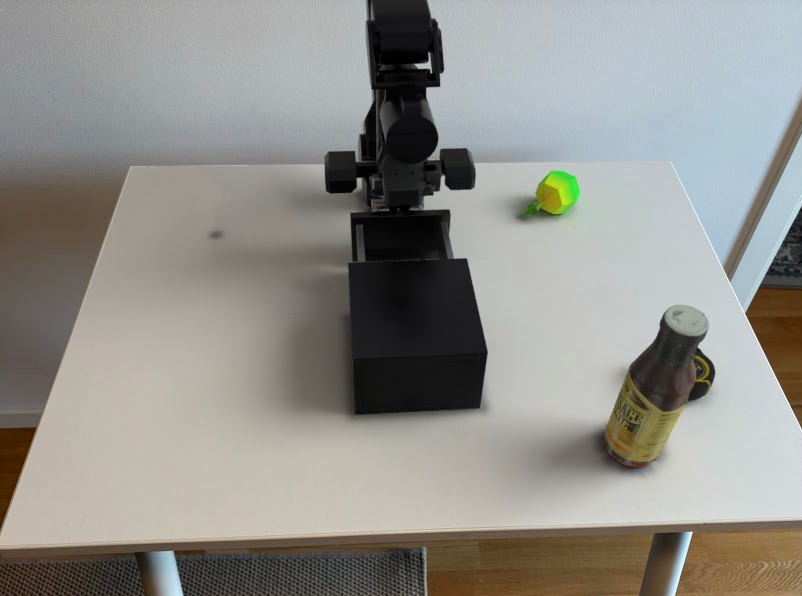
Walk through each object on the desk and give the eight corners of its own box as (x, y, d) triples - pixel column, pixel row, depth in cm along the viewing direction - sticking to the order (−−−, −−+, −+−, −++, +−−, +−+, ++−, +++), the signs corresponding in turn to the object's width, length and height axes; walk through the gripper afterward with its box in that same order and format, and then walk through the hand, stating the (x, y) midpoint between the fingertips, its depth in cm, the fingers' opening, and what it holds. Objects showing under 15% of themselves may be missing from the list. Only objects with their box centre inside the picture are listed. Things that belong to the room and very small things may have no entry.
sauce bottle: (595, 426, 83) (639, 291, 68) (650, 423, 83) (705, 289, 69) (610, 475, 78) (661, 342, 64) (668, 472, 79) (731, 339, 64)
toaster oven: (350, 319, 94) (347, 262, 87) (461, 314, 95) (467, 257, 88) (355, 414, 83) (352, 358, 76) (480, 408, 84) (488, 352, 78)
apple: (574, 155, 108) (540, 180, 103) (596, 192, 109) (564, 219, 104) (541, 175, 114) (507, 200, 109) (563, 210, 115) (530, 236, 110)
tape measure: (691, 361, 90) (701, 339, 87) (717, 403, 86) (728, 382, 83) (638, 367, 89) (646, 345, 86) (661, 411, 85) (670, 389, 82)
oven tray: (350, 235, 104) (348, 190, 99) (442, 232, 105) (445, 187, 100) (356, 331, 91) (354, 286, 86) (460, 326, 92) (465, 281, 87)
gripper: (321, 156, 82) (329, 266, 94) (488, 152, 84) (476, 260, 95) (321, 106, 90) (328, 213, 101) (473, 103, 92) (464, 209, 103)
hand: (398, 225), depth 100 cm, fingers closed, pressing on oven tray
